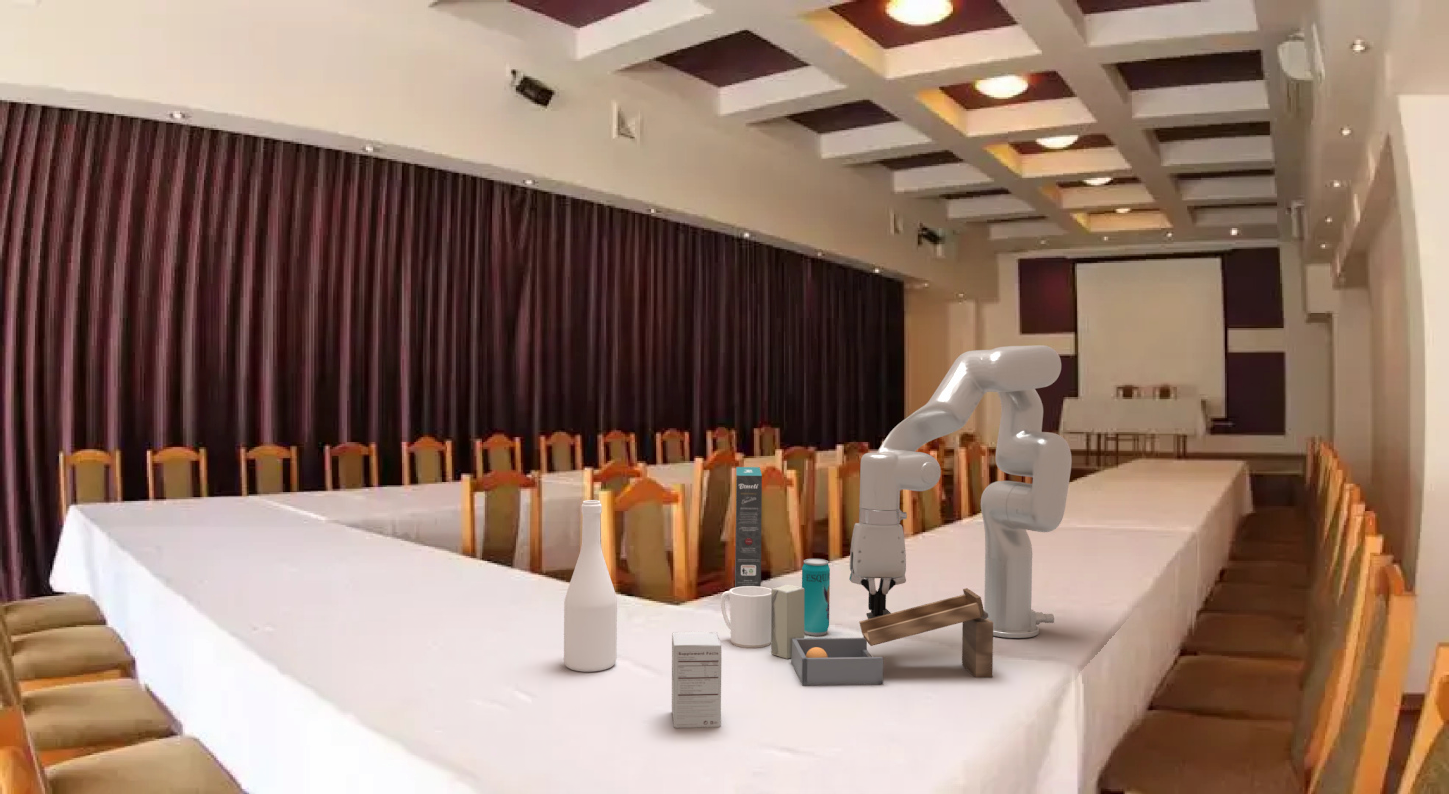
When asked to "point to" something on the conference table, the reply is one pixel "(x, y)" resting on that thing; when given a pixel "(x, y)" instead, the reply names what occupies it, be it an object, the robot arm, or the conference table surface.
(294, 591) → the conference table surface
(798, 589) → the box
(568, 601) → the wine bottle
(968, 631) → the post
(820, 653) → the ball
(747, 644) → the mug
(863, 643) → the tray
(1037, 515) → the robot arm
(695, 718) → the supplement box
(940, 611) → the lever
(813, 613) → the beverage can
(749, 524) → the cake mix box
